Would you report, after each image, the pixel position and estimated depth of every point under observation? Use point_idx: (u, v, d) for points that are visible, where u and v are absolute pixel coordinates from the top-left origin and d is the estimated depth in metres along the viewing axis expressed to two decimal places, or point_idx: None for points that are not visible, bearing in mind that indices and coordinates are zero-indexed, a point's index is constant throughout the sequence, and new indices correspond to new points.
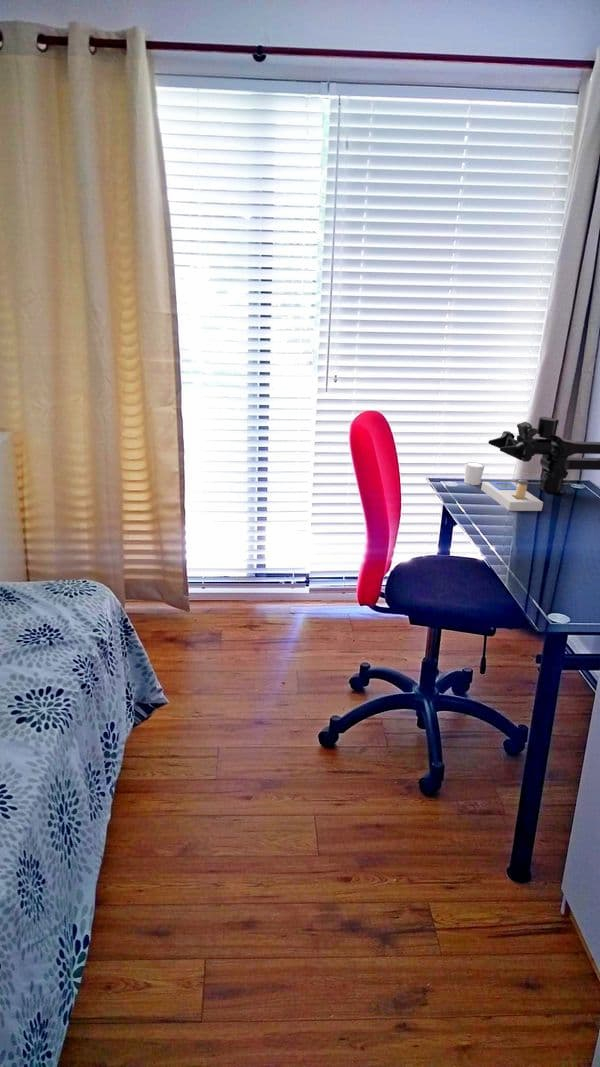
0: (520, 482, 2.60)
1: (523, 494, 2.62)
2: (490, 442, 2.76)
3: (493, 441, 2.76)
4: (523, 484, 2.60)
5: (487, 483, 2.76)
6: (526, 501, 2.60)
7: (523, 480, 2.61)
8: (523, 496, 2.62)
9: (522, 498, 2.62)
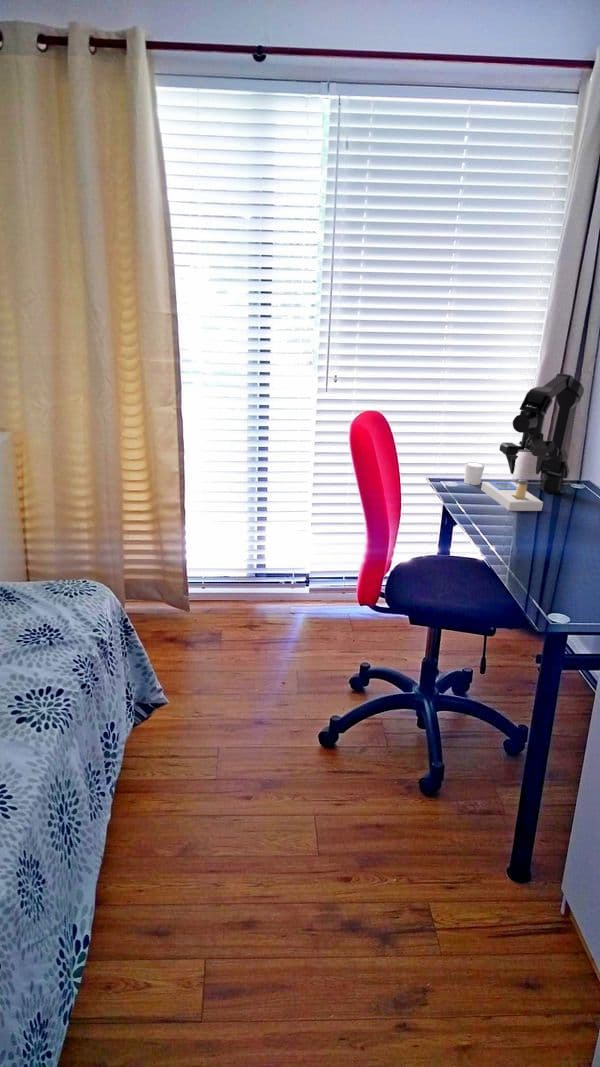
0: (520, 482, 2.60)
1: (523, 494, 2.62)
2: None
3: None
4: (523, 484, 2.60)
5: (487, 483, 2.76)
6: (526, 501, 2.60)
7: (523, 480, 2.61)
8: (523, 496, 2.62)
9: (522, 498, 2.62)
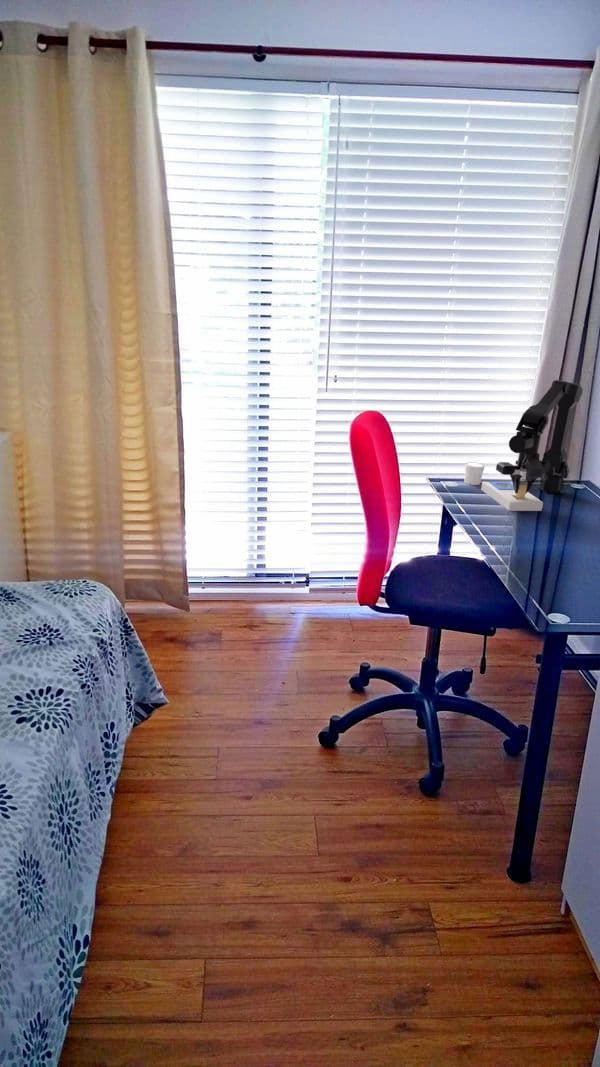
0: (520, 482, 2.60)
1: (523, 494, 2.62)
2: None
3: None
4: (523, 484, 2.60)
5: (487, 483, 2.76)
6: (526, 501, 2.60)
7: (523, 480, 2.61)
8: (523, 496, 2.62)
9: (522, 498, 2.62)
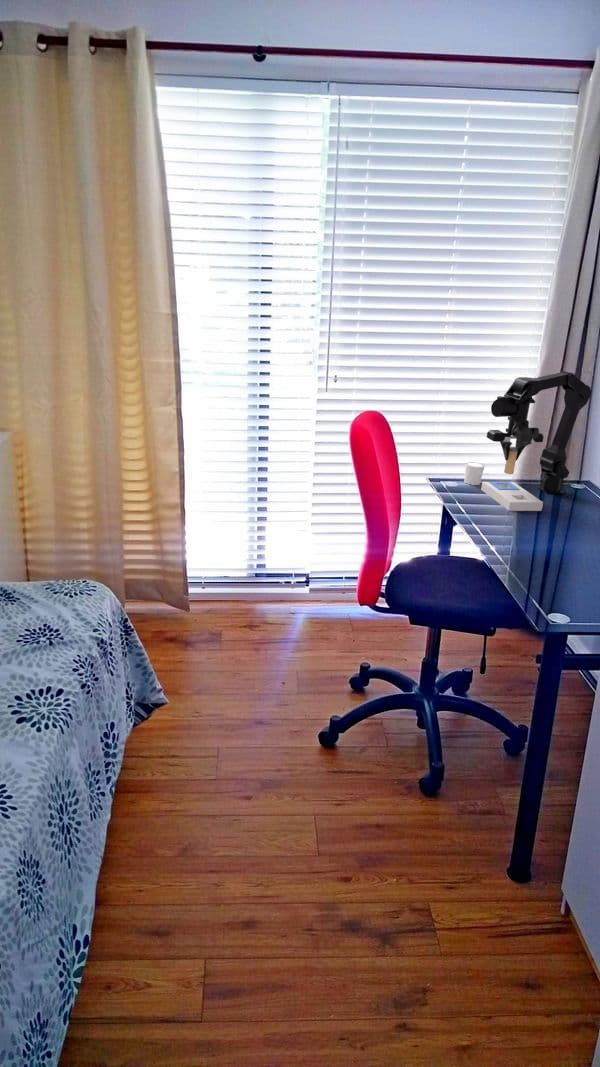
0: (510, 449, 2.67)
1: (513, 461, 2.68)
2: None
3: None
4: (513, 451, 2.67)
5: (487, 483, 2.76)
6: (526, 501, 2.60)
7: (513, 447, 2.68)
8: (513, 463, 2.69)
9: (512, 465, 2.69)
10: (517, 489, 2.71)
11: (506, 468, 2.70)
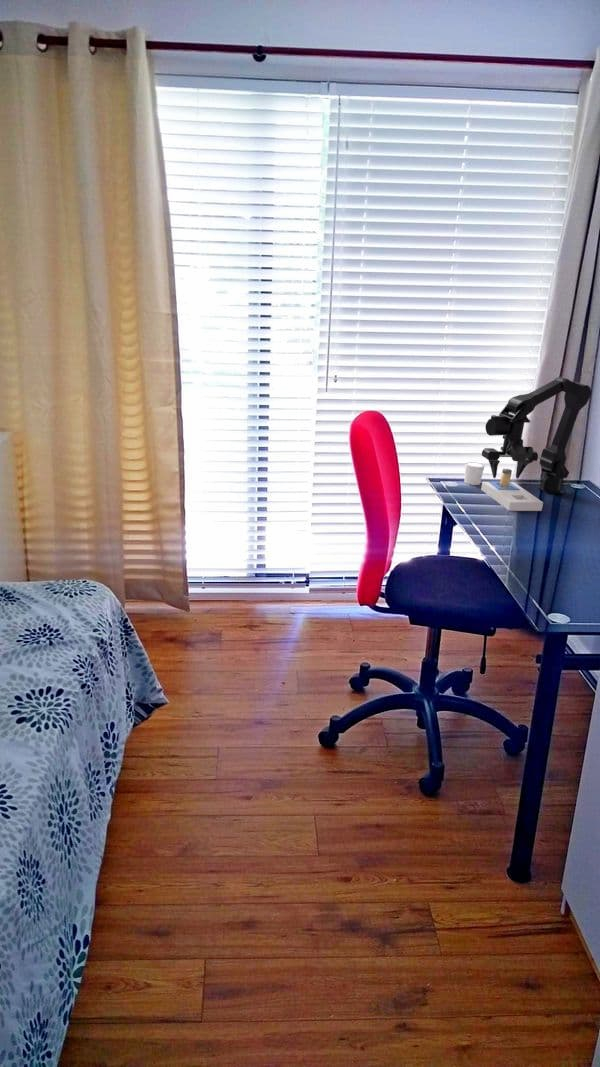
0: (504, 471, 2.71)
1: (507, 483, 2.72)
2: None
3: None
4: (507, 473, 2.71)
5: (487, 483, 2.76)
6: (526, 501, 2.60)
7: (507, 469, 2.72)
8: (507, 485, 2.73)
9: None
10: (517, 489, 2.71)
11: None
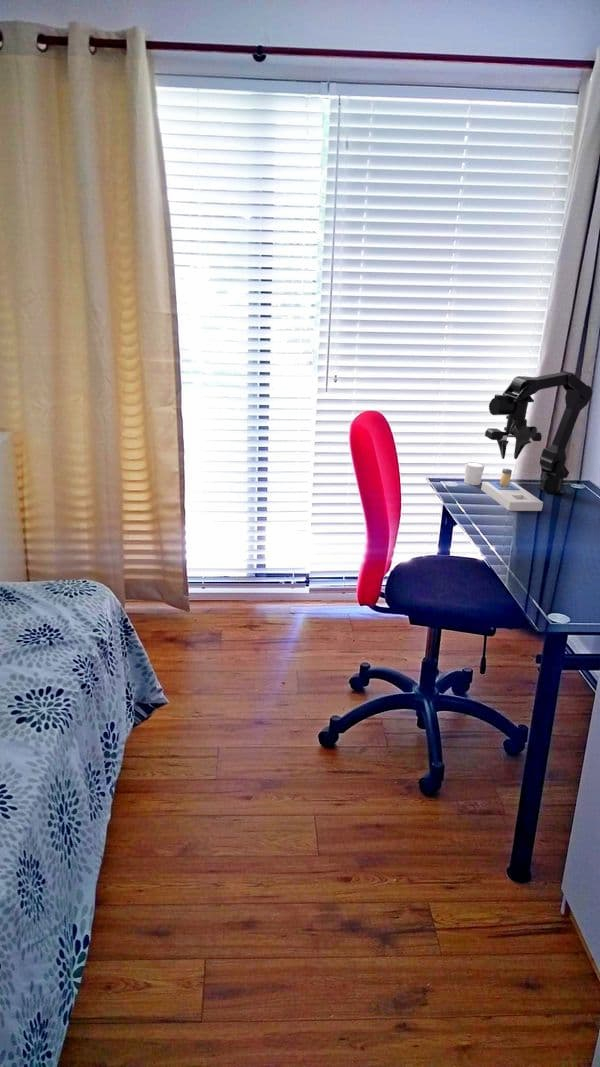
0: (504, 471, 2.71)
1: (507, 483, 2.72)
2: None
3: None
4: (507, 473, 2.71)
5: (487, 483, 2.76)
6: (526, 501, 2.60)
7: (507, 469, 2.72)
8: (507, 485, 2.73)
9: None
10: (517, 489, 2.71)
11: None
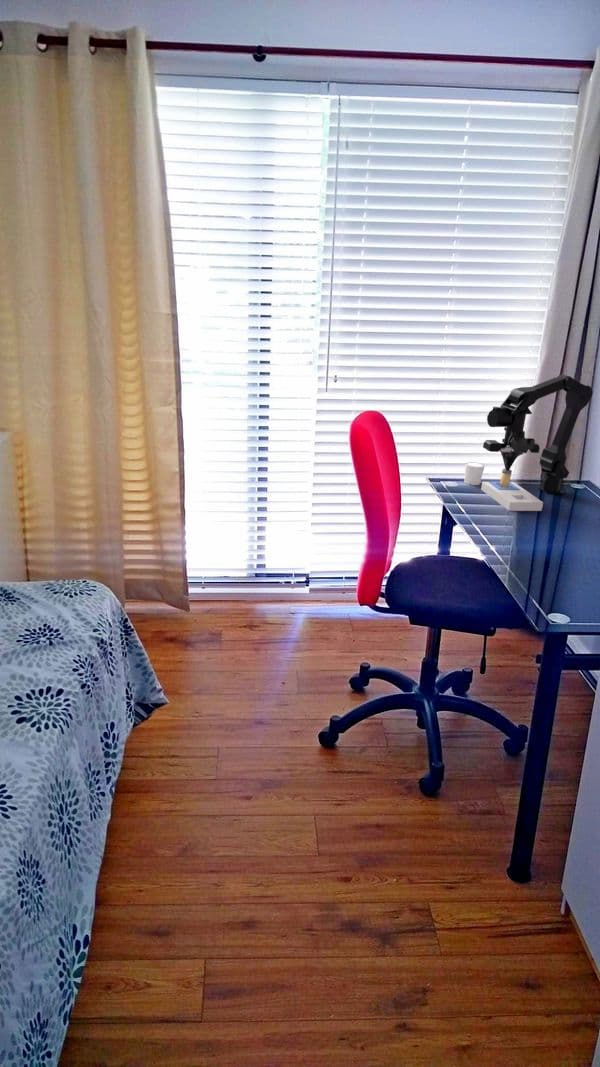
0: (504, 471, 2.71)
1: (507, 483, 2.72)
2: None
3: None
4: (507, 474, 2.71)
5: (487, 483, 2.76)
6: (526, 501, 2.60)
7: (507, 470, 2.72)
8: (507, 485, 2.73)
9: None
10: (517, 489, 2.71)
11: None
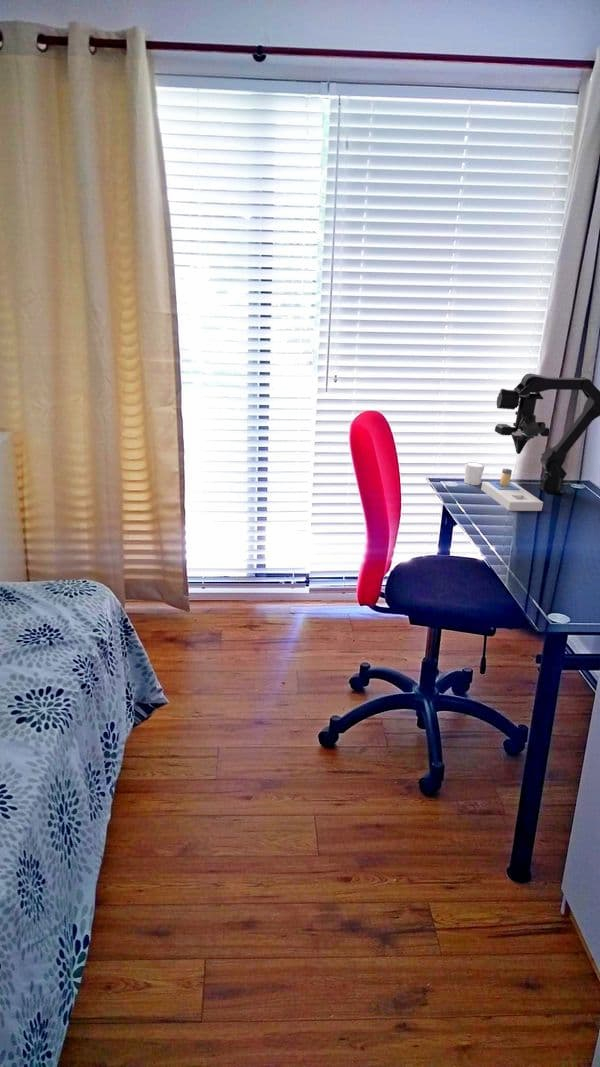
0: (504, 471, 2.71)
1: (507, 483, 2.72)
2: None
3: None
4: (507, 473, 2.71)
5: (487, 483, 2.76)
6: (526, 501, 2.60)
7: (507, 469, 2.72)
8: (507, 485, 2.73)
9: None
10: (517, 489, 2.71)
11: None
